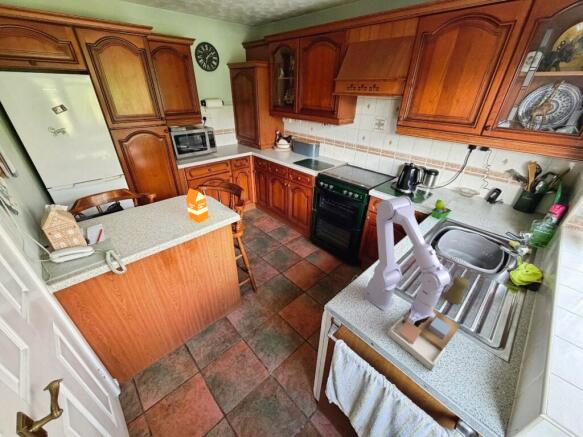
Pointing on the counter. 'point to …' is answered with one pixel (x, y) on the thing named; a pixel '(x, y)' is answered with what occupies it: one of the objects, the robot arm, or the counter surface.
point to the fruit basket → (440, 210)
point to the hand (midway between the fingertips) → (414, 325)
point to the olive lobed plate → (457, 290)
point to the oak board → (432, 337)
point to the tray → (416, 346)
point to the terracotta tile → (410, 331)
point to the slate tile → (439, 328)
